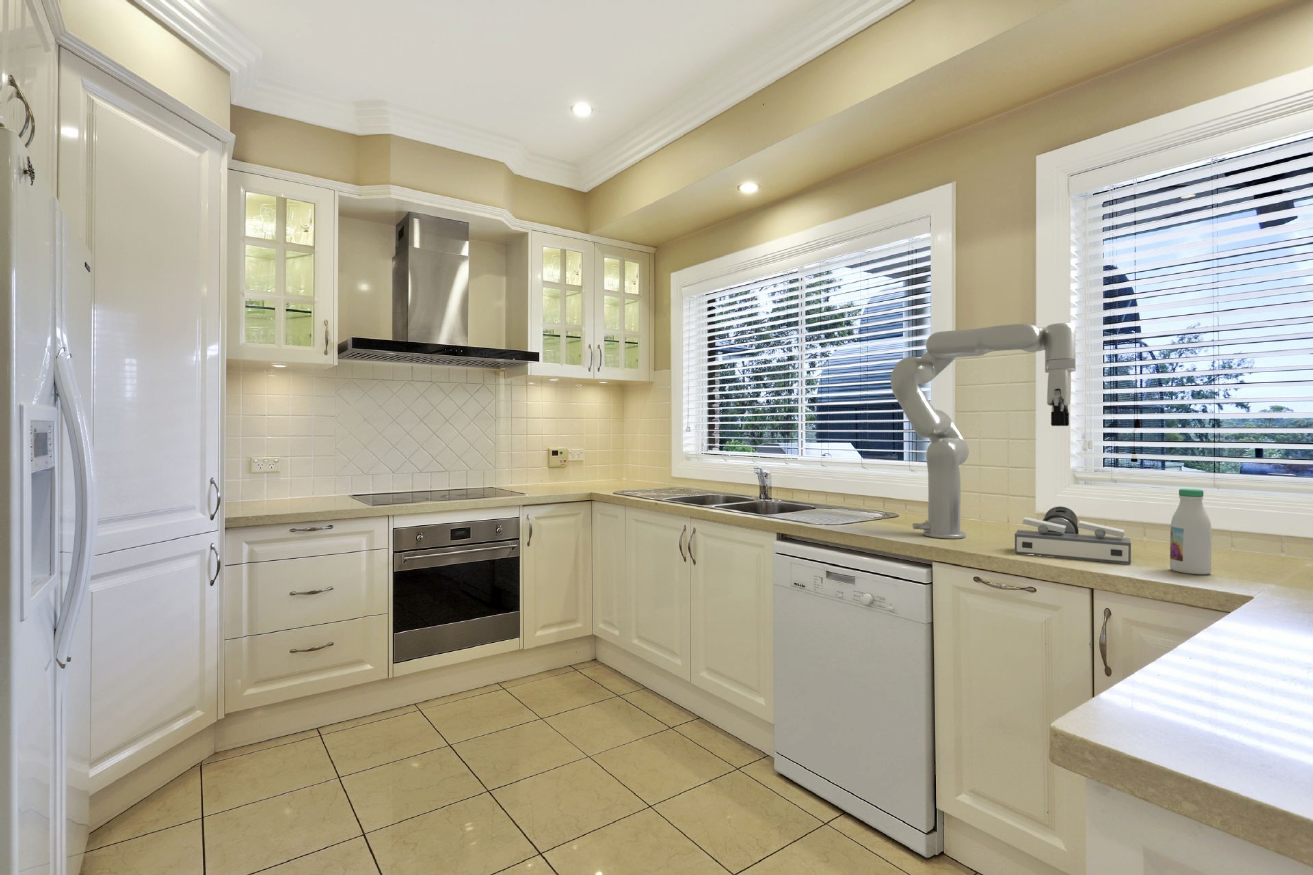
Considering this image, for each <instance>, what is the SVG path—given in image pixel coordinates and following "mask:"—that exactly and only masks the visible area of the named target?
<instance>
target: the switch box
mask: <svg viewBox="0 0 1313 875" xmlns="http://www.w3.org/2000/svg"><path fill="white" fill-rule="evenodd" d="M1015 553H1019V554H1018V555H1023V554H1034V555H1041V556H1040V557H1044V556H1054V557H1053V558H1055V557H1059V558H1058V559H1065V558H1066V559H1067V560H1068V559H1069V560H1076V559H1081V560H1080V561H1087V560H1089V561H1090V562H1097V561H1102V562H1101V563H1108V562H1109V563H1110V564H1119V563H1123V564H1122V565H1129V564H1131V565H1132V561H1131V560H1132V542H1131V538H1130V537H1118V536H1106V535H1105V536H1104V537H1103V538H1098V537H1096V536H1095V534H1094V535H1093V534H1092V535H1091V534H1079V533H1078V534H1069V533H1055V532H1046V533H1040V532H1039V531H1038V530H1029V529H1027V530H1026V529H1017V531H1015V533H1014V554H1015Z"/></svg>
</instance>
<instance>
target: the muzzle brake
mask: <svg viewBox="0 0 1313 875" xmlns="http://www.w3.org/2000/svg"><path fill="white" fill-rule="evenodd" d="M1042 521H1046V522H1051V523H1055V524H1060V525H1064V526H1066V528H1065V532H1064V533H1069V534H1079V531H1080V530H1079V528H1078V525H1079V522H1078V517H1077V514H1076V513H1075V512H1074V511H1073V509H1071V508H1068V507H1065V506H1060V505H1059V506H1053V507H1052V508H1050V509H1049V510H1048V511H1047V512H1046V513H1045V515H1044V517H1043V519H1042ZM1047 532H1055V533H1061V532H1057V531H1052V530H1048V531H1047Z"/></svg>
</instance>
